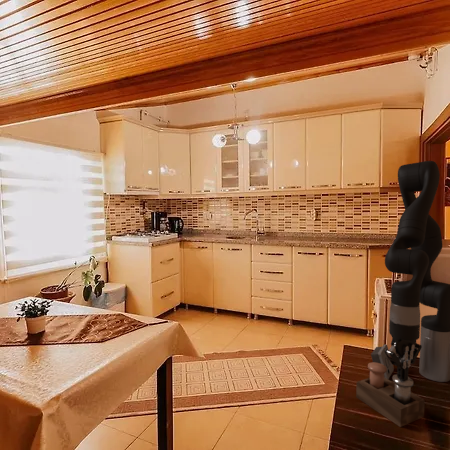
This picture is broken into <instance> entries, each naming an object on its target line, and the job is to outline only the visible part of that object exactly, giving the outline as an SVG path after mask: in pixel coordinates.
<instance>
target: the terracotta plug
mask: <svg viewBox="0 0 450 450" xmlns="http://www.w3.org/2000/svg"><path fill="white" fill-rule="evenodd" d="M367 369H368V370H369V378H370V385H372V386H373V387H375V388H377V389H381V388H383V387H384V378H385V377H384V373H386V371H387V368H386V366H384V365H383V364H380V363H376V362H373V361H372V362H369V363H368V364H367Z"/></svg>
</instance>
